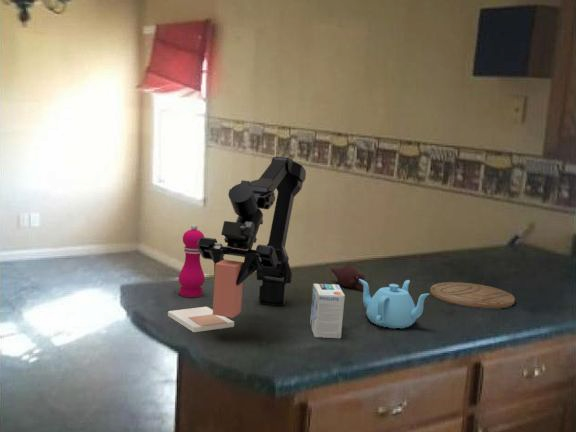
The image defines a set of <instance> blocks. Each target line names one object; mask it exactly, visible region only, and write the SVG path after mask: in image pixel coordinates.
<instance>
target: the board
mask: <svg viewBox="0 0 576 432" xmlns="http://www.w3.org/2000/svg"><path fill="white" fill-rule="evenodd" d="M167 317H169V318H170V319H172V320H174V322H177V323H178V324H180V325H182V326H183V327H185V328H186V329H188V330H189V331H191V332H192V333H199V332H206V331H212V330H221V329H228V328H234V327H235V321H234V320H231V319H230V318H229V317H224V316H218V315H213V308H210V307H209V306H200V307H192V308H184V309H176V310H175V309H173V310H169V311H167Z"/></svg>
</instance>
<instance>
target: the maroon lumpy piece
mask: <svg viewBox="0 0 576 432" xmlns="http://www.w3.org/2000/svg"><path fill="white" fill-rule="evenodd" d="M330 271H331V272H332V273H333V275H334V276H335V277H336V279H337V283H338V285H339V287H345V288H349V287H350V288H352V287H355V288H356V289H357V290H358V291H359V292H363V285H362V283H361V281H360V280H359V279H362V280H364V281H365V278H366V276H365V274H363V273H361V272H359V271H358V270H357V269H356V268H354V267H353V266H352V264H351V265H349V264H348V265H344V266H343V267H331V268H330Z"/></svg>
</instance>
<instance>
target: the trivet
mask: <svg viewBox="0 0 576 432" xmlns="http://www.w3.org/2000/svg"><path fill="white" fill-rule="evenodd" d="M429 293H431V294H430V296H431V295H433V296H434V297H435V298H437V299H440V300H442V301H445V302H448V303H453V304H457V305H462V306H468V307H475V308H504V307H509V306H511V305H513V304H514V305H515V302H516V301H515V299H516V298H515V296H514V295H513V294H512V293H510V292H508V291H505V290H503V289H500V288H497V287H494V286H489V285H484V284H478V283H471V282H456V281H455V282H454V281H449V282H439V283H436V284H433V285H432V286H431V287H430V291H429ZM433 296H432V297H433ZM434 297H433V298H434ZM435 298H434V299H435ZM437 299H436V300H437ZM440 300H439V301H440ZM442 301H441V302H442ZM445 302H444V303H445ZM448 303H447V304H448Z"/></svg>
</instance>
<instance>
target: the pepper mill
mask: <svg viewBox="0 0 576 432" xmlns="http://www.w3.org/2000/svg"><path fill="white" fill-rule="evenodd" d="M202 237H205V235H204V233H203V232H202V231H200V230H199V229H198V225H197V224H196V223H192V224H191V226H190V229H188V230H186V231H185V232H184V233H183V235H182V243H183V245H185V246H184V247H183V248H184V249H183V252H184V253H185V254H184V255H185V258H184V263H183V266H182V268H181V270H180V272H179V275H178V283H179V285H180V286H181V287H180V288H179V295H180V296H182V297H184V298H198V297H201V296H202V295H203V288H202V286H203V285H204V283H205V273H204V270H203V268H202V265H201V253H200V251H199V249H198V247H197V243H198V241H199V239H200V238H202Z"/></svg>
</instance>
